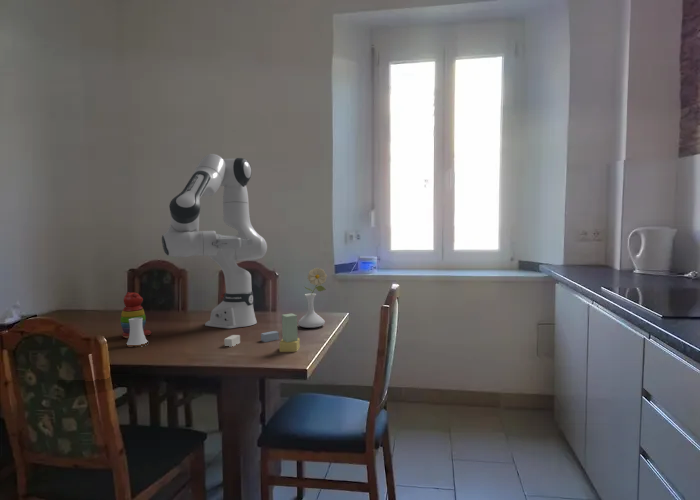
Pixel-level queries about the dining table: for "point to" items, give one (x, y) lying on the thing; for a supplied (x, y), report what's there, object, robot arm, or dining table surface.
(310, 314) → the flower in vase
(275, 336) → the slate brick
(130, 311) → the stacking bear
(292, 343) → the mustard brick
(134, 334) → the vase
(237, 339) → the cream brick
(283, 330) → the green brick
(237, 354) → the dining table surface
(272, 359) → the dining table surface
